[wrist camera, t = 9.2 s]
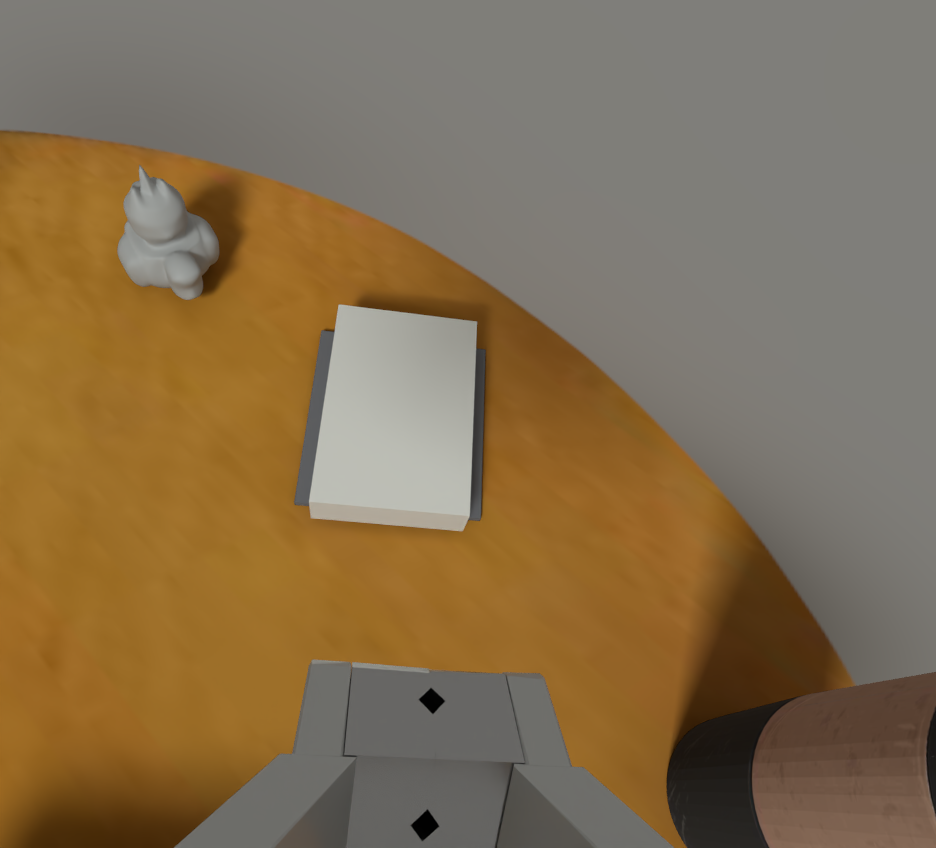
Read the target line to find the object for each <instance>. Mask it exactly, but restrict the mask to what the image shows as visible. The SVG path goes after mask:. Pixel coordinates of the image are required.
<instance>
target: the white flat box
mask: <svg viewBox="0 0 936 848" xmlns="http://www.w3.org/2000/svg"><path fill="white" fill-rule="evenodd" d="M476 337H477V322H476V321H468V320H460V319H452V318H444V317H436V316H428V315H420V314H412V313H404V312H396V311H387V310H379V309H371V308H363V307H355V306H347V305H339V306H338V313H337V320H336V326H335V333H334V339H333V346H332V353H331V359H330V366H329V372H328V379H327V386H326V392H325V399H324V405H323V412H322V419H321V425H320V432H319V438H318V445H317V452H316V458H315V465H314V471H313V478H312V485H311V491H310V498H309V507H310V515H311V518H316V519H328V520H339V521H351V522H362V523H374V524H385V525H397V526H408V527H420V528H431V529H443V530H454V531H463V529H464V527H465V525H466V523H467V521H468V519H469V517H470V496H471V470H472V443H473V417H474V390H475V364H476Z"/></svg>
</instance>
